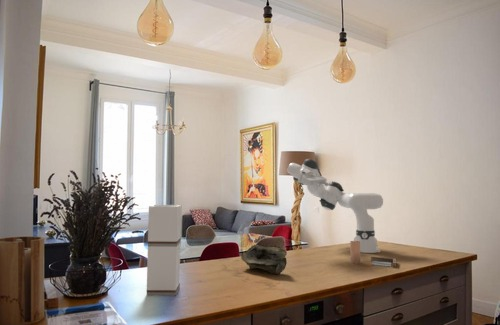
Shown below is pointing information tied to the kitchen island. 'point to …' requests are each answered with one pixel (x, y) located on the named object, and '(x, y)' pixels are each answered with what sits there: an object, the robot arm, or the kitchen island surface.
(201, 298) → the kitchen island surface
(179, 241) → the white banded pillar
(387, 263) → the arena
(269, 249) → the hollow geode rock
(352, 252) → the terracotta jar
